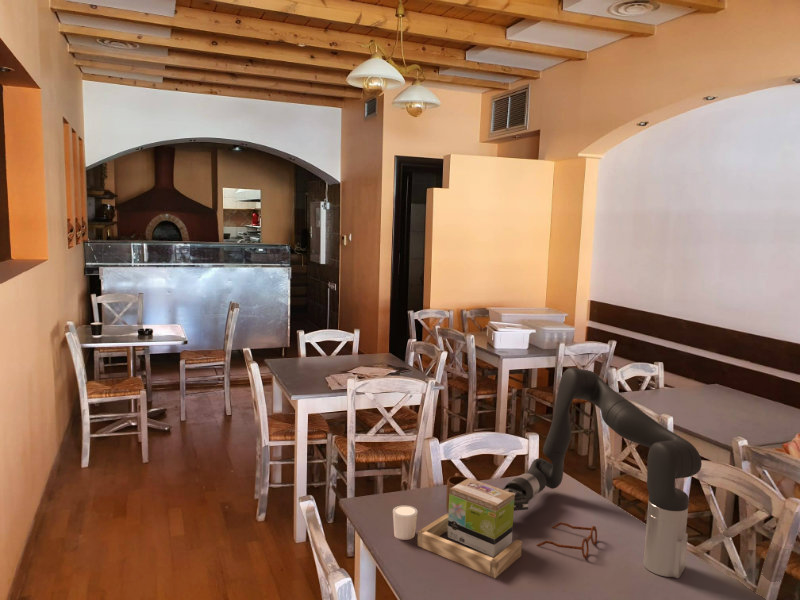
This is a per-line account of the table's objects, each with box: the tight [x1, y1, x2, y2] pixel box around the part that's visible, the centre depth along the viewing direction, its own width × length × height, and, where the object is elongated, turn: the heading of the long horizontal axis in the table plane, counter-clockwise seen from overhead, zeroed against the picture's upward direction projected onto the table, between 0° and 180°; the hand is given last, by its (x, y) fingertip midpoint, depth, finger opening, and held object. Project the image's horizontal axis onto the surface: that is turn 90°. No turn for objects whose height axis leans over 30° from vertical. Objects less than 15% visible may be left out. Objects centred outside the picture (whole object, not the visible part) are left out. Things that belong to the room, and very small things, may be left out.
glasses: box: [536, 521, 598, 559], centre depth 172 cm, size 13×13×5 cm
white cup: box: [392, 505, 419, 541], centre depth 173 cm, size 7×7×7 cm
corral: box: [416, 513, 523, 579], centre depth 166 cm, size 24×14×4 cm, turn 52°
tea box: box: [447, 477, 515, 558], centre depth 170 cm, size 15×10×15 cm, turn 51°
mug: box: [445, 472, 469, 513], centre depth 191 cm, size 12×8×9 cm, turn 1°
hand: (493, 509), depth 175 cm, fingers closed
